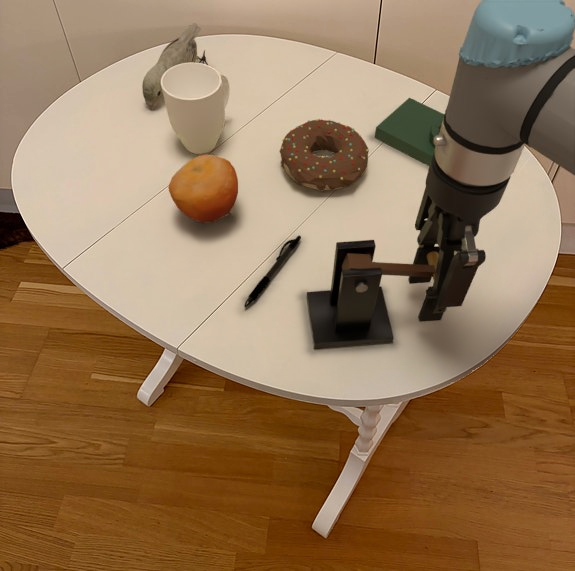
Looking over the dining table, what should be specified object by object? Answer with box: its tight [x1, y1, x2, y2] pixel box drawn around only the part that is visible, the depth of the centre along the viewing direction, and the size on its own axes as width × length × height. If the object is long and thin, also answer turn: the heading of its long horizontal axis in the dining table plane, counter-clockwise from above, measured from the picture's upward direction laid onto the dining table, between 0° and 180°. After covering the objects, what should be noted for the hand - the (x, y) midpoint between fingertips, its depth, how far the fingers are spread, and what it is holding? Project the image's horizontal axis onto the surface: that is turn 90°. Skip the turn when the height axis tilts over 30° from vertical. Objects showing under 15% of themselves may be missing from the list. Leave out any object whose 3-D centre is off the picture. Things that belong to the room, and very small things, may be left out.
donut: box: [278, 118, 370, 192], centre depth 92 cm, size 14×14×5 cm
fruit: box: [168, 154, 239, 225], centre depth 84 cm, size 10×9×10 cm
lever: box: [342, 251, 439, 281], centre depth 69 cm, size 12×5×2 cm, turn 96°
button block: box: [373, 97, 445, 167], centre depth 96 cm, size 14×10×4 cm
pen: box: [243, 235, 302, 308], centre depth 81 cm, size 14×2×1 cm, turn 149°
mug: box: [161, 62, 231, 155], centre depth 93 cm, size 12×9×12 cm
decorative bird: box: [141, 23, 209, 110], centre depth 103 cm, size 5×16×8 cm, turn 153°
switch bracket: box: [306, 239, 395, 350], centre depth 72 cm, size 10×8×13 cm
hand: (424, 299), depth 75 cm, fingers closed on lever, 5 cm apart
